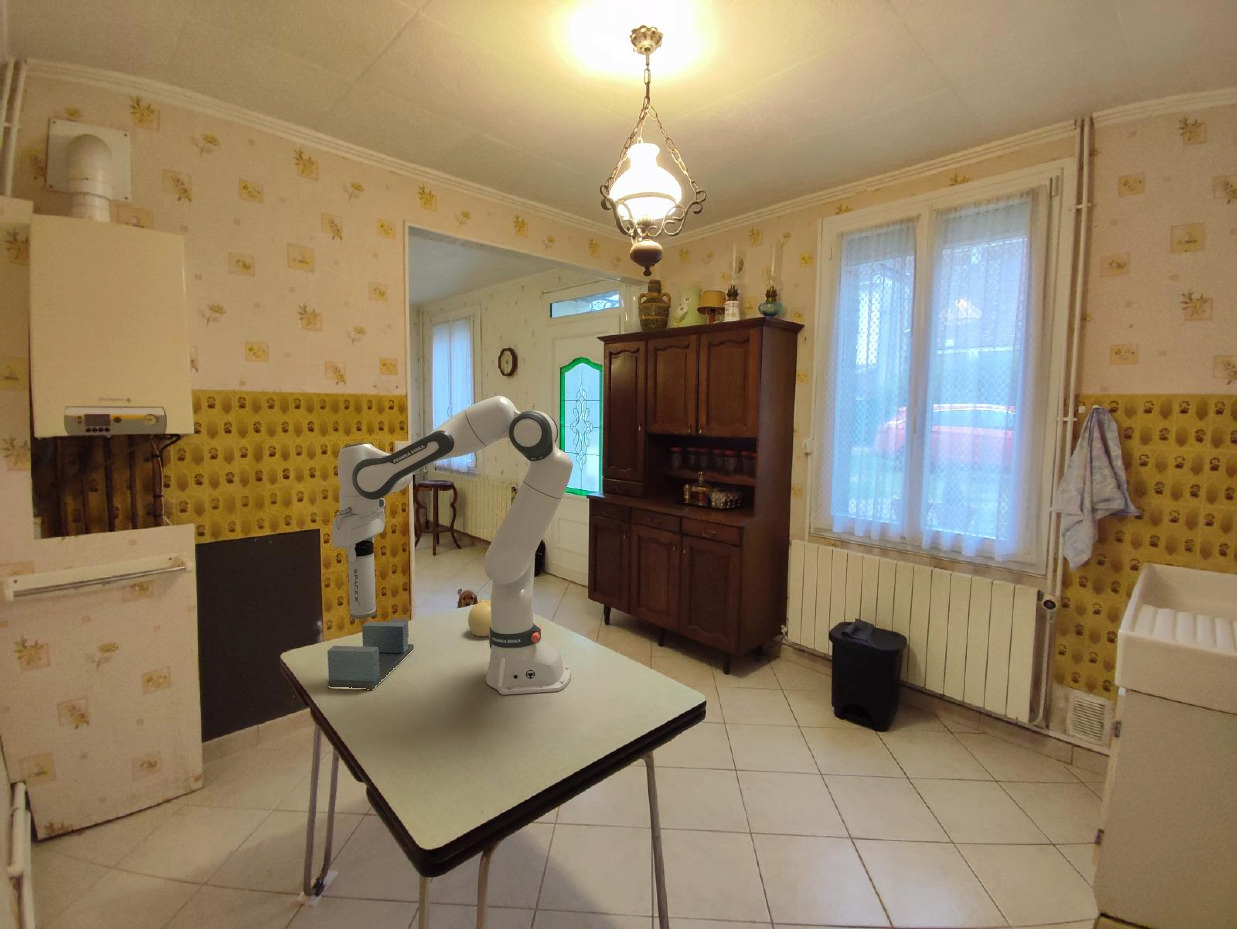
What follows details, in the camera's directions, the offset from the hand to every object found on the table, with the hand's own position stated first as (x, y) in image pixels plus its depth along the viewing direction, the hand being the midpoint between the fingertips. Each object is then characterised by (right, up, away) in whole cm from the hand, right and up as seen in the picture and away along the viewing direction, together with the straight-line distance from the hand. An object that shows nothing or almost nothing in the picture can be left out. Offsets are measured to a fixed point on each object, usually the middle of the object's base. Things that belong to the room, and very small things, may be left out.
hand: (360, 556), depth 147 cm
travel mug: (0, -16, +2) cm, 16 cm away
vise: (0, -32, +7) cm, 33 cm away
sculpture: (+26, -30, +33) cm, 52 cm away
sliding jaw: (+1, -29, +18) cm, 34 cm away
